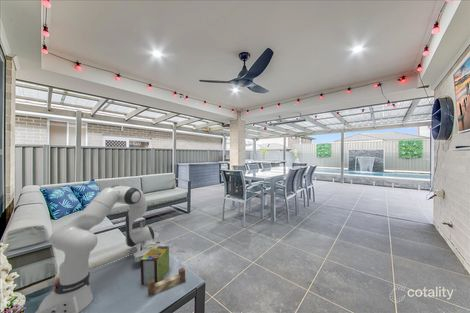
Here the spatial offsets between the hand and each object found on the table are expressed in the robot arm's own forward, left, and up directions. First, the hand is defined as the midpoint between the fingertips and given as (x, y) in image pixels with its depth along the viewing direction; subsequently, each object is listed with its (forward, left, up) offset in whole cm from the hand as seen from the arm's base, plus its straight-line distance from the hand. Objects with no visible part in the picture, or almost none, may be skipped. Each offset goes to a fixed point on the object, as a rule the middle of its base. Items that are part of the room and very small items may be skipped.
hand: (152, 258), depth 119 cm
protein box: (0, -9, -7) cm, 11 cm away
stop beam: (+4, -22, -7) cm, 23 cm away
